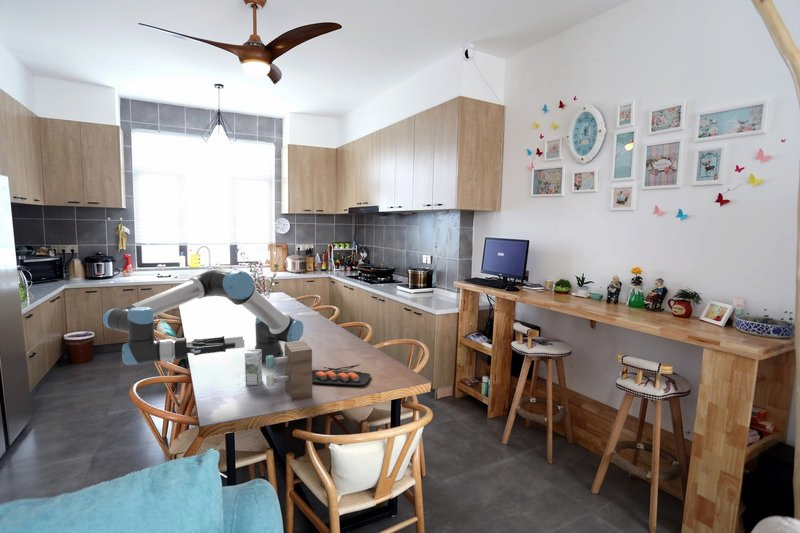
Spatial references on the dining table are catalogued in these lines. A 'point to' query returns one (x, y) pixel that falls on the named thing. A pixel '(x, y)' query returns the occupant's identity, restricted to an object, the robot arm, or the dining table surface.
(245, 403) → the dining table surface
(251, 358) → the syrup box
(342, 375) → the sushi plate
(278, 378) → the cream knob
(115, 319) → the robot arm
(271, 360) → the teal knob
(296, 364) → the block
